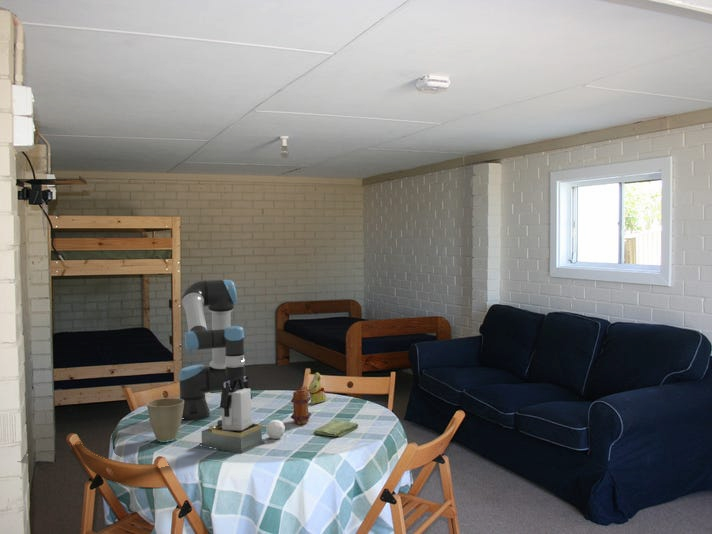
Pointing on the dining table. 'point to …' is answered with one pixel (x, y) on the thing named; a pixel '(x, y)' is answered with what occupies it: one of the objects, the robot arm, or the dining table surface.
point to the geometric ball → (275, 429)
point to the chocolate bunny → (316, 390)
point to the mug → (301, 406)
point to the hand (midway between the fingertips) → (237, 421)
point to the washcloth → (336, 428)
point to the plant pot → (165, 417)
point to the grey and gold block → (232, 438)
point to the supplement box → (239, 410)
